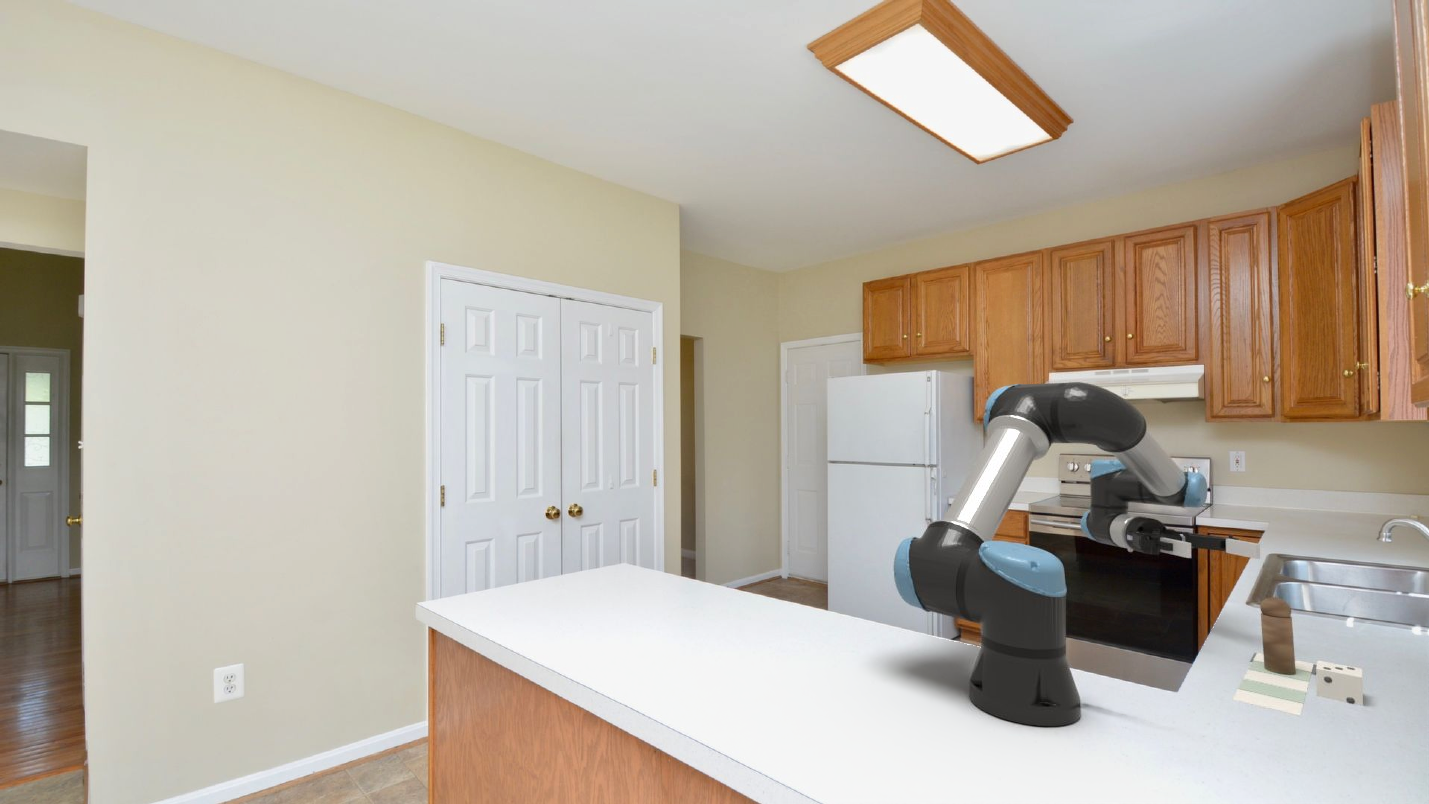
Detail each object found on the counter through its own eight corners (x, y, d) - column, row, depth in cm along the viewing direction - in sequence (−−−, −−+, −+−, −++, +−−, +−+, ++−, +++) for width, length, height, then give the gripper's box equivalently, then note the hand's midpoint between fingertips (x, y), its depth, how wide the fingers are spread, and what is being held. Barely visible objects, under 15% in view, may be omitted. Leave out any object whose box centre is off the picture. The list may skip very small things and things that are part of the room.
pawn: (1262, 669, 110) (1257, 597, 111) (1266, 664, 113) (1261, 593, 114) (1293, 675, 107) (1288, 600, 108) (1297, 670, 110) (1292, 597, 111)
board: (1228, 704, 98) (1228, 699, 98) (1254, 656, 119) (1254, 651, 119) (1304, 722, 92) (1303, 717, 92) (1317, 668, 113) (1316, 663, 113)
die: (1317, 701, 100) (1316, 668, 100) (1318, 692, 103) (1317, 659, 103) (1363, 712, 96) (1362, 677, 96) (1363, 701, 100) (1361, 668, 100)
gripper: (1193, 552, 142) (1286, 572, 121) (1085, 550, 140) (1160, 570, 119) (1193, 517, 143) (1286, 531, 121) (1084, 515, 141) (1160, 529, 119)
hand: (1224, 550), depth 120 cm, fingers open, 13 cm apart
